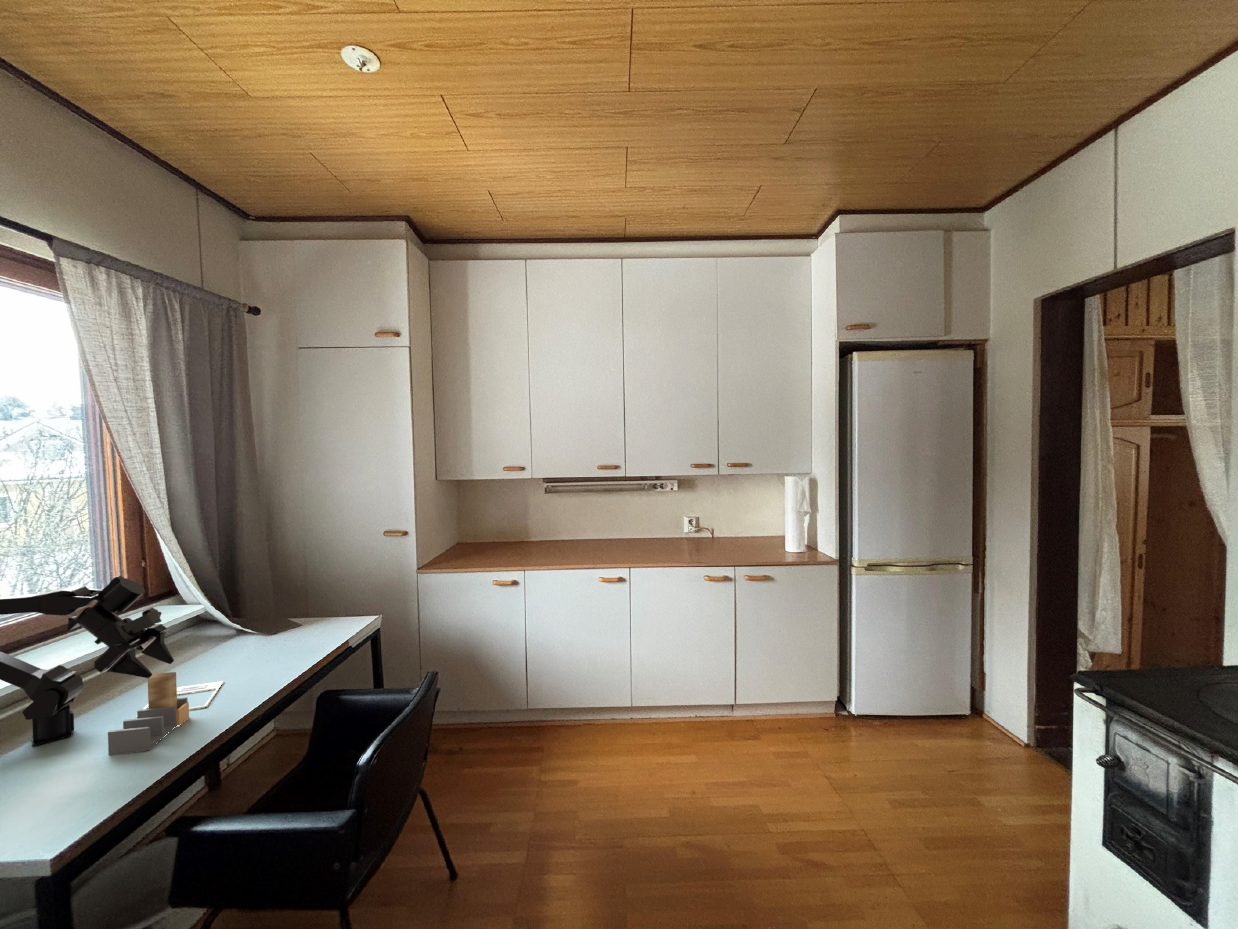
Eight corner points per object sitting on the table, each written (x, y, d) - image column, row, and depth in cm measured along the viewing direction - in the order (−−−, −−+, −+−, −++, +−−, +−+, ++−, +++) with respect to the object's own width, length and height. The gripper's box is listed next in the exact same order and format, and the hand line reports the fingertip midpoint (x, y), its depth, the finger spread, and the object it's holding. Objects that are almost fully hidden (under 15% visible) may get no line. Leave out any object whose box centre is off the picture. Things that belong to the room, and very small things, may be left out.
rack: (108, 755, 125) (107, 732, 125) (152, 720, 142) (152, 700, 141) (152, 750, 127) (151, 728, 127) (190, 717, 143) (190, 697, 143)
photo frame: (224, 680, 165) (206, 705, 148) (224, 684, 165) (206, 709, 148) (161, 688, 159) (135, 716, 143) (161, 693, 159) (135, 720, 143)
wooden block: (149, 724, 137) (147, 678, 137) (156, 718, 140) (154, 673, 140) (170, 722, 138) (169, 676, 138) (177, 716, 141) (176, 672, 141)
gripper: (108, 611, 128) (166, 657, 131) (157, 591, 147) (207, 632, 149) (67, 649, 127) (127, 695, 129) (122, 625, 145) (173, 665, 148)
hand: (161, 669), depth 139 cm, fingers open, 9 cm apart
